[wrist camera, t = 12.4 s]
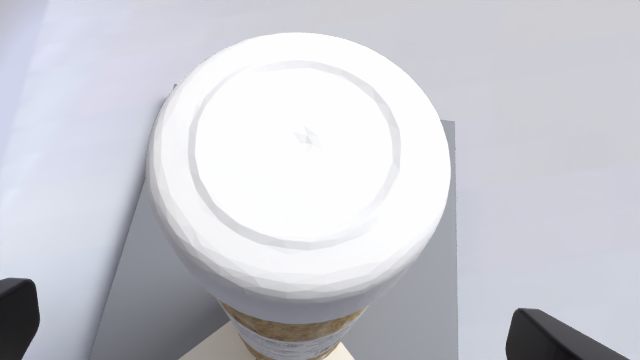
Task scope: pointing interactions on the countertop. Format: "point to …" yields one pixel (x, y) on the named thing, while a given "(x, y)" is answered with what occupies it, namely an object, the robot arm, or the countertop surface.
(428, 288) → the board
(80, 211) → the countertop surface
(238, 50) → the sprinkles bottle
